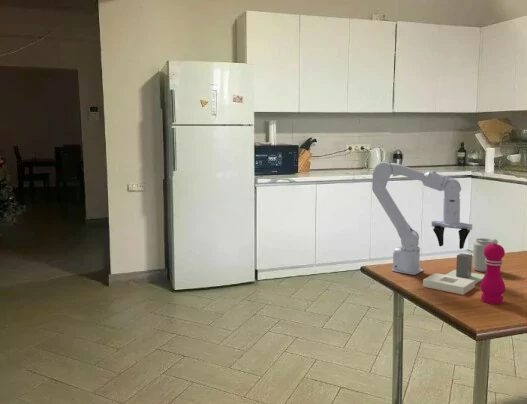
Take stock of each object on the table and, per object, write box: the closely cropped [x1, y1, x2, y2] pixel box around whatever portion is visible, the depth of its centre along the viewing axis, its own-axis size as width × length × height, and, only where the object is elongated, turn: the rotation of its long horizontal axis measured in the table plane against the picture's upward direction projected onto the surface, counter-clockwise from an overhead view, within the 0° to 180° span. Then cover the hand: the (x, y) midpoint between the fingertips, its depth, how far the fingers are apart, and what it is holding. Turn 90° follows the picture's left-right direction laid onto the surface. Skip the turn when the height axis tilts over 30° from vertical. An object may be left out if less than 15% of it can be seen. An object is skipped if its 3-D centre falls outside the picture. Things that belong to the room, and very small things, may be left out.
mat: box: [445, 269, 485, 285], centre depth 181 cm, size 12×12×1 cm
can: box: [472, 237, 493, 273], centre depth 189 cm, size 8×8×12 cm
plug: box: [455, 252, 473, 279], centre depth 180 cm, size 4×4×8 cm
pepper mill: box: [479, 238, 506, 305], centre depth 155 cm, size 7×7×20 cm
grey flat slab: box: [422, 272, 476, 296], centre depth 171 cm, size 14×10×2 cm
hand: (451, 247), depth 184 cm, fingers open, 7 cm apart
